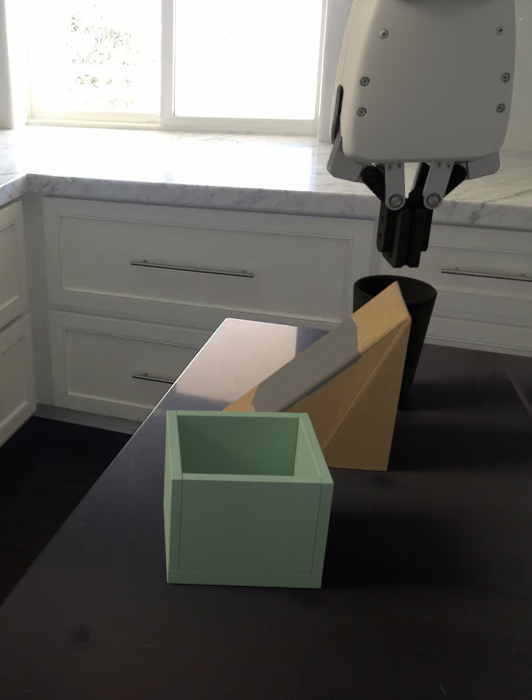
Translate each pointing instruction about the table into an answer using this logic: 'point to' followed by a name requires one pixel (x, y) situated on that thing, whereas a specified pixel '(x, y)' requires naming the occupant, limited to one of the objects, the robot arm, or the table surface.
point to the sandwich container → (346, 384)
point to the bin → (245, 499)
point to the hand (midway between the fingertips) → (399, 261)
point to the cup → (420, 309)
